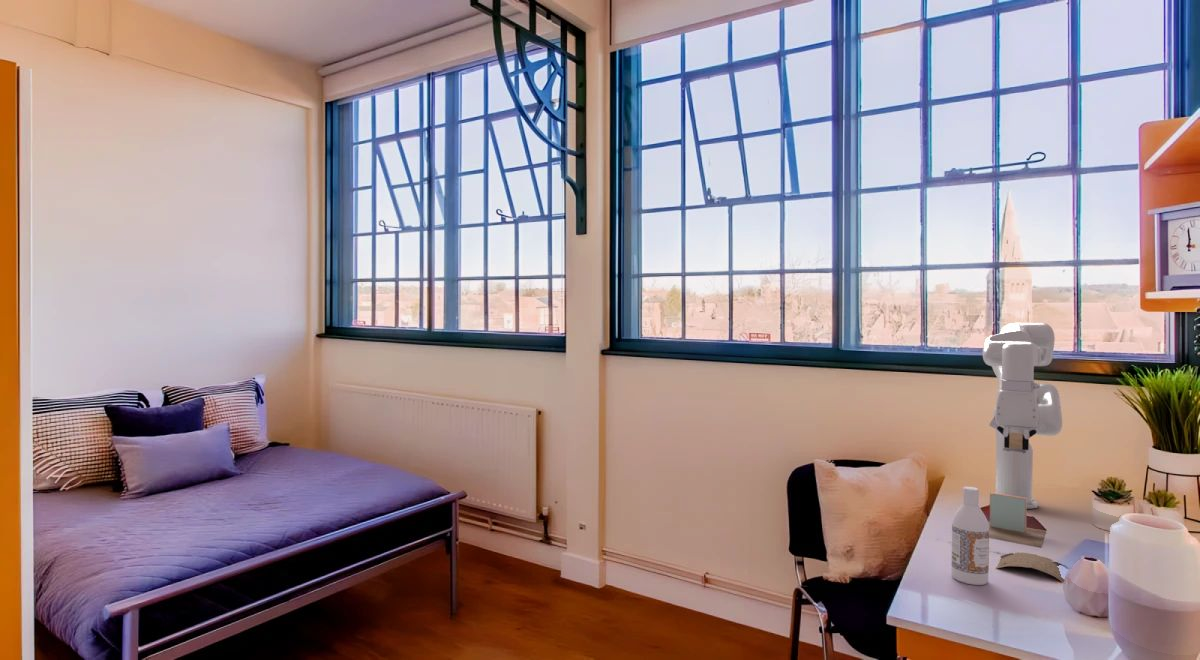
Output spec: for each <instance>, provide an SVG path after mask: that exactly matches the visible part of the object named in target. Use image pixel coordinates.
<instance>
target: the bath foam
mask: <svg viewBox="0 0 1200 660" xmlns="http://www.w3.org/2000/svg"><path fill="white" fill-rule="evenodd" d="M962 488H963V489H962V493H963V494H962V502H963V503H961V505H960V506H959V508H958V509H957V510H956V511H955V513H954V515H953V518H952V521H951V522H952V523H951V563H950V564H951V576H952V578H954V579H955V580H956V581H958V582H960V583H963V584H968V585H970V586H971V585H972V586H984V585H987V584H988V582H989V571H990V569H989V566H990V565H989V563H990V560H989V559H990V538H989V525H988V521H989V520H988V519H987V517H986V514H985V513H984V511H982V509H981V507H980V505H979V504H980V503H979V496H980V493H979V492H980V490H979V488H977V487H975V486H963V487H962Z"/></svg>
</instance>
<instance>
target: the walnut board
mask: <svg viewBox="0 0 1200 660" xmlns="http://www.w3.org/2000/svg"><path fill="white" fill-rule="evenodd" d="M987 521H988V525H989V539H993V540H999V541H1004V542H1007V543H1008V542H1010V543H1015V544H1020V545H1025V546H1029V547H1035V548H1040V549H1041V548H1042V547H1043V543H1044V539H1045V536H1046V534H1047V533H1046V532H1047V531H1046V530H1043V529H1037V528H1031V527H1027V526H1026V533H1022V532H1016V531H1011V530H1005V529H1000V528H994V527H990V520H987Z"/></svg>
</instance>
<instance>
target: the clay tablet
mask: <svg viewBox="0 0 1200 660" xmlns="http://www.w3.org/2000/svg"><path fill="white" fill-rule="evenodd" d="M1000 558H1001V559H999V562H998V564H997V566H996V569H1000V568H1004V567H1021V568H1022V567H1023V568H1032V569H1035V570H1038V571H1040V572H1043V573H1046V574H1048V575H1051V576H1052V577H1055V578H1056V579H1057V580H1058V581H1059V582H1062V583H1065V582H1064V579H1063V578H1062V577H1061V574H1060V571H1059V568H1058V567H1057V566H1059V565H1062V564H1061V563H1059V562H1058V561H1054V560H1053V559H1051V558H1048V557H1045V556H1041V555H1038V554H1037V553H1029V552H1015V553H1008V554H1004V555H1001V556H1000Z"/></svg>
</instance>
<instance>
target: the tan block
mask: <svg viewBox="0 0 1200 660" xmlns="http://www.w3.org/2000/svg"><path fill="white" fill-rule="evenodd" d="M1023 436H1024V434H1023V433H1012V432H1010V436H1009V448H1003V450H1006V451H1015V452H1024V453H1025V452H1026V450H1022V440H1023Z"/></svg>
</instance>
